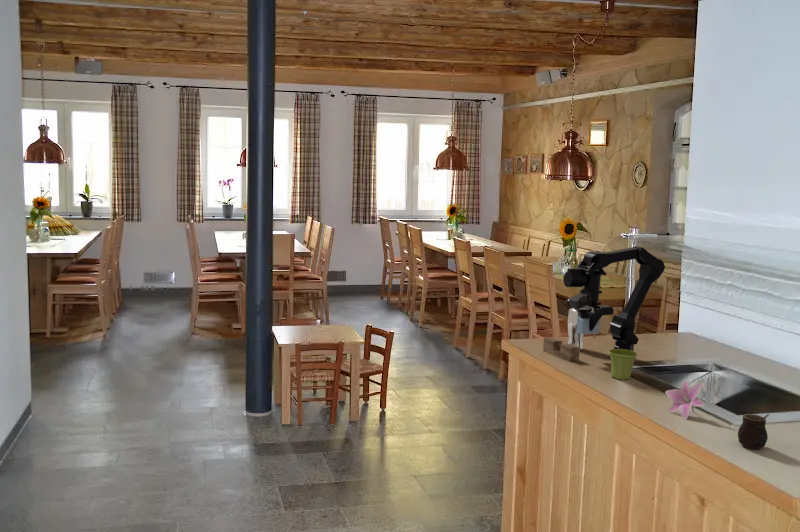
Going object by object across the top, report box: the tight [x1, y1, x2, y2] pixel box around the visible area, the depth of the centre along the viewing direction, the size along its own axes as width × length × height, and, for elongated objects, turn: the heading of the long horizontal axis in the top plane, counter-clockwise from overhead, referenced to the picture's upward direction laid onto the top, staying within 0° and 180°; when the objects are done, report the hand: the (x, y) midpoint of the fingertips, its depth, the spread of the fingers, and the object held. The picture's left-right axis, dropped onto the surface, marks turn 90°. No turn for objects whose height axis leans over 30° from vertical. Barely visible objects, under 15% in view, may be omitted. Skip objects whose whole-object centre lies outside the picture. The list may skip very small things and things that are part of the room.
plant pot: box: [608, 348, 639, 381], centre depth 271 cm, size 9×9×9 cm
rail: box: [542, 336, 581, 363], centre depth 296 cm, size 4×16×5 cm, turn 27°
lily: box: [665, 379, 705, 420], centre depth 235 cm, size 12×12×10 cm
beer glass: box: [567, 307, 585, 351], centre depth 309 cm, size 7×7×15 cm
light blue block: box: [576, 317, 601, 335], centre depth 290 cm, size 8×3×5 cm, turn 119°
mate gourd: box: [737, 413, 770, 451], centre depth 209 cm, size 7×8×10 cm
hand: (587, 329), depth 290 cm, fingers closed on light blue block, 3 cm apart
